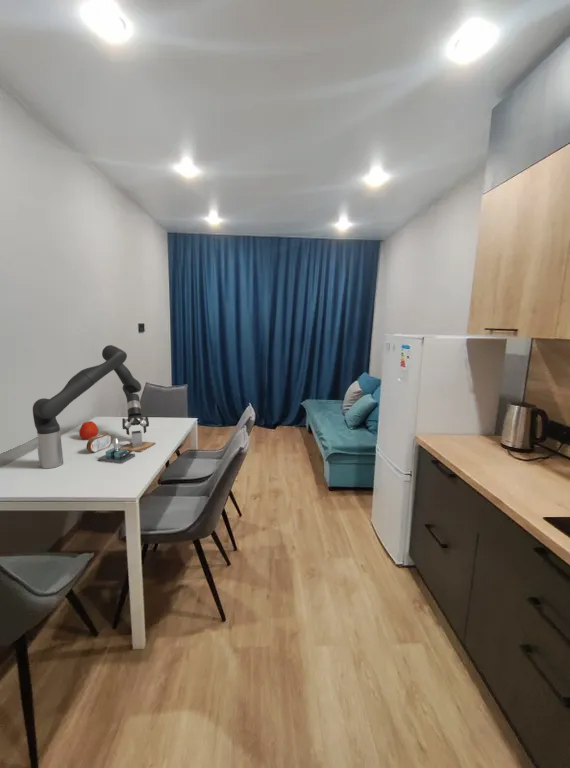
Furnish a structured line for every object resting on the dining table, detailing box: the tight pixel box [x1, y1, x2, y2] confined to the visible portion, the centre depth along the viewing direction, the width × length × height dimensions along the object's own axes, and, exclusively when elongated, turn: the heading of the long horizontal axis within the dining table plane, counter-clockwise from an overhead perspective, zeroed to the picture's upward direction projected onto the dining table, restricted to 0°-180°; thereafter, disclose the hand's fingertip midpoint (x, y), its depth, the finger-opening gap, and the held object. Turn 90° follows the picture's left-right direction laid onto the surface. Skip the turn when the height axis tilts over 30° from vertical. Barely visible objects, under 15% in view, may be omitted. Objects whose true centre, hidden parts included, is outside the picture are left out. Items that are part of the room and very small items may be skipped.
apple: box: [78, 420, 99, 440], centre depth 213 cm, size 10×10×10 cm
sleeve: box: [131, 429, 143, 448], centre depth 197 cm, size 5×5×8 cm
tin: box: [86, 432, 113, 453], centre depth 193 cm, size 15×3×8 cm, turn 160°
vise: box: [97, 437, 136, 464], centre depth 180 cm, size 14×10×11 cm
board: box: [119, 441, 156, 453], centre depth 198 cm, size 14×14×1 cm
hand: (136, 433), depth 200 cm, fingers open, 8 cm apart
